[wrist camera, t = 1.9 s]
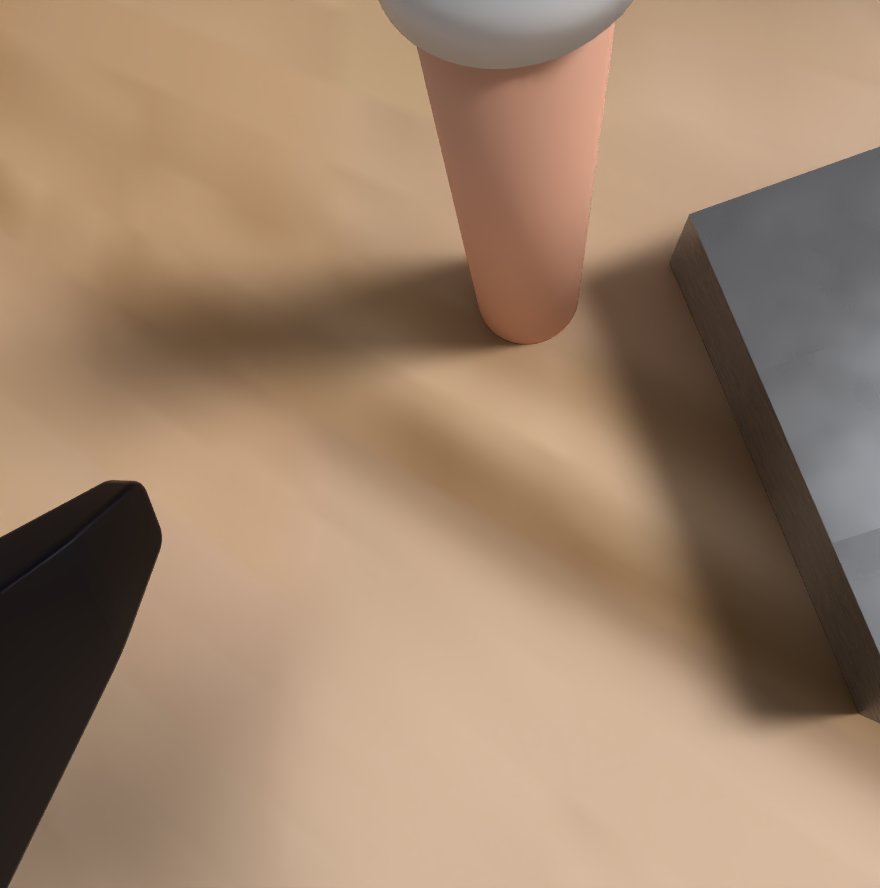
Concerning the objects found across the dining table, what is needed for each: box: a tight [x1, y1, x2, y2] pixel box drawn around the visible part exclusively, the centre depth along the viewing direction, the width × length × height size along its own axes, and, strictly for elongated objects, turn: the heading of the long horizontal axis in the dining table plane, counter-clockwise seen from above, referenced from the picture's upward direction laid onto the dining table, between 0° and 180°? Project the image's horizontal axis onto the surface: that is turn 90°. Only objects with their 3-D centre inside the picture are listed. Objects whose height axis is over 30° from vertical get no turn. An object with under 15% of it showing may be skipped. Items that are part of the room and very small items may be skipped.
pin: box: [379, 0, 633, 344], centre depth 16 cm, size 4×4×14 cm
